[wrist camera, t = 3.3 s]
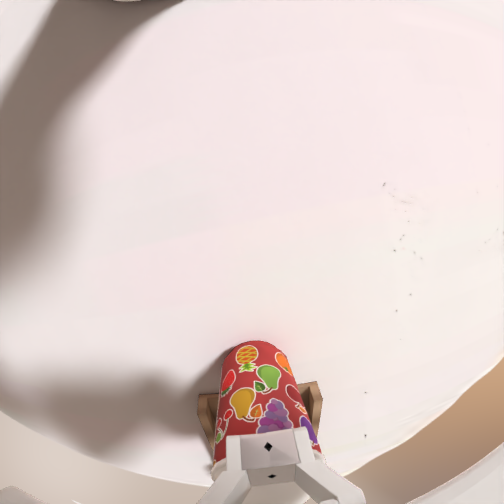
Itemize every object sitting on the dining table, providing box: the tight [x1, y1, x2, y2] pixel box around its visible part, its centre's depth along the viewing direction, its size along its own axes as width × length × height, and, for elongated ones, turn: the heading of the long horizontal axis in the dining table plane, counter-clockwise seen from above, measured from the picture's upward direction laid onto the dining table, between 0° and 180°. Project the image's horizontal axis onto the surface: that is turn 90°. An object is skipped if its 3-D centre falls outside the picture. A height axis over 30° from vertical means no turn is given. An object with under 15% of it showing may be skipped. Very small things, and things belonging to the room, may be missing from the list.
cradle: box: [197, 381, 323, 452], centre depth 32 cm, size 22×14×3 cm, turn 5°
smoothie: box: [211, 341, 326, 504], centre depth 18 cm, size 8×8×20 cm
